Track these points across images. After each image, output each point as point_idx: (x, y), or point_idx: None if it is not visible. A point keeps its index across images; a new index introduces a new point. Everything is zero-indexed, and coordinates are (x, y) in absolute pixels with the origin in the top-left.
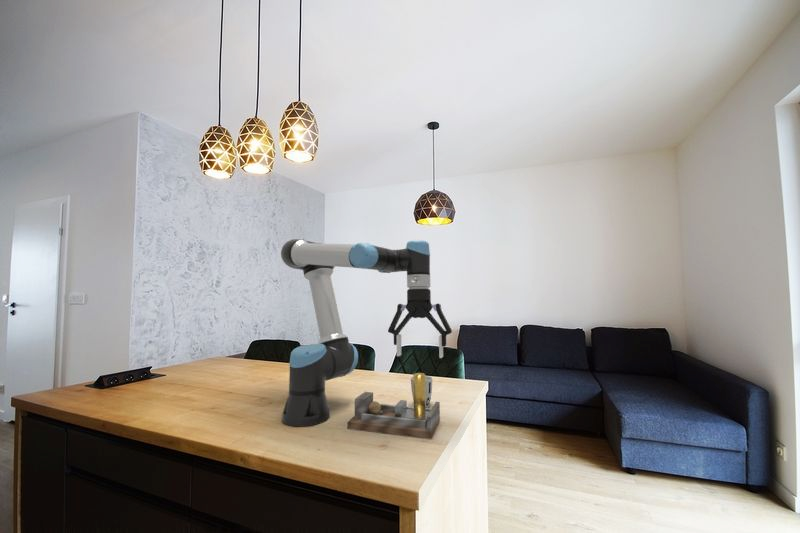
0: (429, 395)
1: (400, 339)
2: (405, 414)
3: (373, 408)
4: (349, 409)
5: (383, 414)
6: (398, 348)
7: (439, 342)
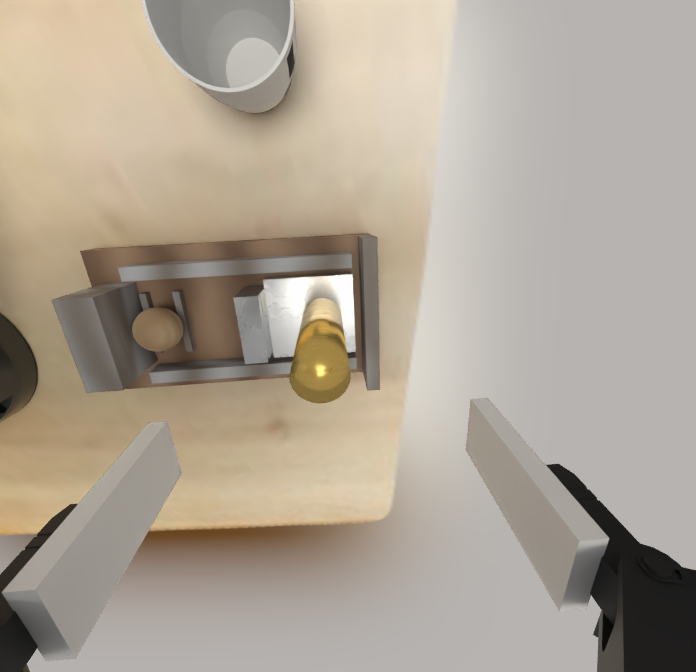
0: (292, 74)
1: (93, 554)
2: (279, 332)
3: (164, 350)
4: (10, 232)
5: (189, 299)
6: (150, 519)
7: (525, 545)
